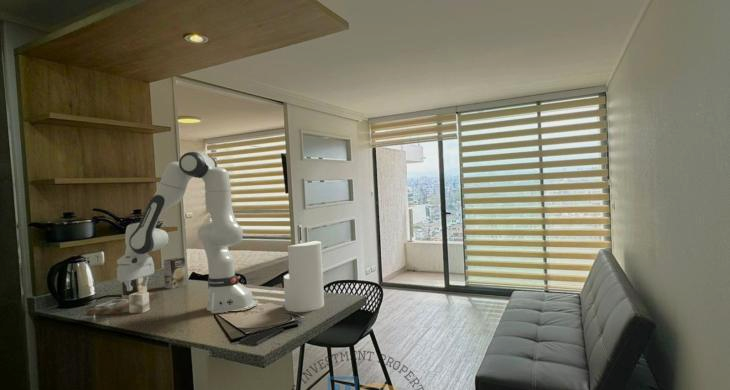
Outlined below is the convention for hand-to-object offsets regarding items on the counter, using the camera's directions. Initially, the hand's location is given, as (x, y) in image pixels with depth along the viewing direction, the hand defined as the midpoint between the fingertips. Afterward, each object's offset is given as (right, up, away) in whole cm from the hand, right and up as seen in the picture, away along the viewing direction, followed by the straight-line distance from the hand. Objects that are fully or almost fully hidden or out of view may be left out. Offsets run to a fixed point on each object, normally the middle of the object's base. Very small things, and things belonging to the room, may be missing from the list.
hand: (137, 288), depth 174 cm
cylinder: (+77, -7, -3) cm, 77 cm away
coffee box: (-5, -11, +46) cm, 48 cm away
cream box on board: (-13, -11, +12) cm, 21 cm away
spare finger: (+1, -11, 0) cm, 11 cm away
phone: (+67, -8, -38) cm, 78 cm away
